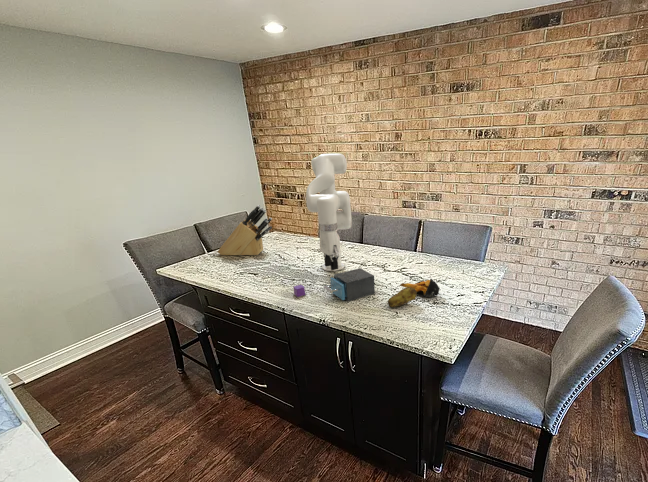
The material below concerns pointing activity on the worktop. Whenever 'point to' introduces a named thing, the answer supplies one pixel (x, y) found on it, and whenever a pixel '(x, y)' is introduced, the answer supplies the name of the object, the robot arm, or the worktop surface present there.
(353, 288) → the grey drawer box
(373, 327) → the worktop surface
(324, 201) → the robot arm
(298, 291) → the purple cube
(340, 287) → the blue drawer
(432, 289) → the fried shrimp in bowl
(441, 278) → the worktop surface
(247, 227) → the knife block
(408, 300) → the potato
